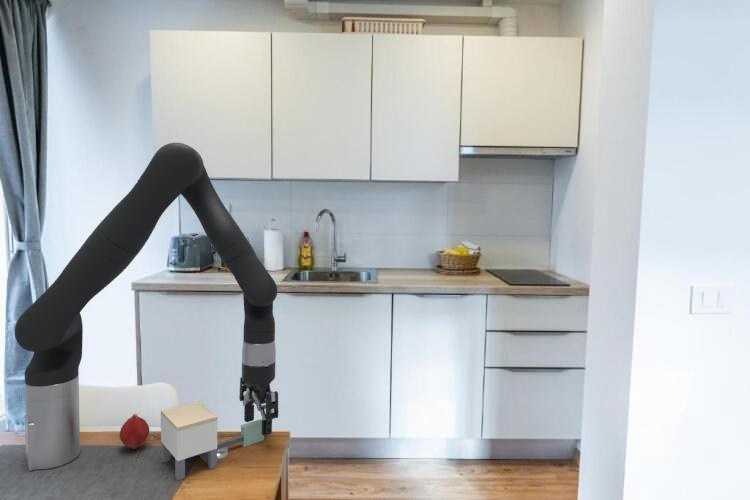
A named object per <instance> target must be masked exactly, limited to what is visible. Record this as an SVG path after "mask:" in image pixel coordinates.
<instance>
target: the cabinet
mask: <svg viewBox="0 0 750 500" xmlns="http://www.w3.org/2000/svg"><path fill="white" fill-rule="evenodd" d="M160 442H161V443H160V447H161V449H160V456H161V458H160V460H161V461H162V462H163V463H166V462H169V461H171V455H172V456H173V457H174V459H175V460H174V469H175V472H174V474H175V475H174V478H175V480H177V482H179V481H181V480H184V479H185V478H186V459H188V458H192V457H195V456H199V455H198V454H201V453H205V452H208V464H207V467H208V468H209V469H210V470H213V469H216V468H217V467H218V459H217V442H218V416H217V414H215V413H214V412H212V411H211V410H210V409H209V408H208V407H206V406H205V404H203V403H201V402H200V400H199V401H194V402H190V403H186V404H182V405H178V406H177V405H176V406H173V407H170V408H165V409H161V410H160Z"/></svg>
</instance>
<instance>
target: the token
mask: <svg viewBox="0 0 750 500" xmlns="http://www.w3.org/2000/svg"><path fill="white" fill-rule="evenodd" d="M228 454H229V449H228V448H227V447H224V448H221V449H218V450H217V460H220V459H221V460H222V459H224V458H226V457H227V456H228Z"/></svg>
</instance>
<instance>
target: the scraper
mask: <svg viewBox="0 0 750 500" xmlns="http://www.w3.org/2000/svg"><path fill="white" fill-rule="evenodd" d="M262 441H265V436H263V435H262V419H256V420H253V421H250V422H246V423H244V424H240V435H236V436H232V437H230V438H227V439H223V440H221V441H217V450H218V449H221V448H224V447H226V448H227V447H229V446H232V445H235V444H239V443H240V445H241V446H242V447H243V448H245V447H248V446H250V445H254V444H257V443H259V442H262ZM197 456H198V457H200V458H201V460H203V462H204V463H205V464H207V465H208V452H205V453H201V454H198V455H197Z"/></svg>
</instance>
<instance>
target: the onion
mask: <svg viewBox="0 0 750 500" xmlns="http://www.w3.org/2000/svg"><path fill="white" fill-rule="evenodd" d="M149 435H150V427H149V424H148V423H147V421H146V420H145V419H144V418H142V417H140V416H138V413H134V414H132V416H131V417H129V418H128V419H126V421H125V422H124V423H123V425H122V426H121V428H120V431H119V440H120V441H121V443H122V444H123V446H126V447H128V448H131V449H132V450H137V449H138V448H139V447H140V446H141V445H142V444H143V443H144V442H145V441H146V440H147V439H148V437H149Z"/></svg>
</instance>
